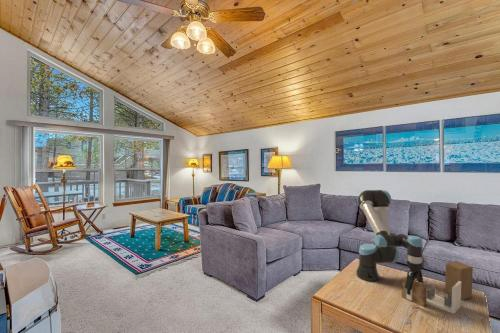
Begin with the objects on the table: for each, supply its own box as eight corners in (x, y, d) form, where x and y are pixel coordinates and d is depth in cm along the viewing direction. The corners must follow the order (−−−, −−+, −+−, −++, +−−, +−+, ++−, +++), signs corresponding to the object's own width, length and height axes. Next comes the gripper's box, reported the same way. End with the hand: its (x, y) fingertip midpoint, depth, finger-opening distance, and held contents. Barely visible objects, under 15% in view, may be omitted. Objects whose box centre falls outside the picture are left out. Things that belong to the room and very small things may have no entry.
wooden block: (461, 300, 150) (462, 269, 149) (444, 291, 159) (445, 262, 158) (472, 298, 152) (473, 267, 151) (455, 289, 162) (456, 260, 161)
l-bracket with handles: (421, 300, 150) (422, 276, 149) (428, 293, 157) (429, 271, 156) (454, 314, 137) (454, 288, 136) (460, 306, 144) (461, 281, 143)
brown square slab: (401, 297, 153) (402, 279, 153) (404, 295, 156) (404, 277, 155) (423, 307, 144) (424, 287, 143) (426, 304, 146) (426, 285, 145)
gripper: (412, 269, 138) (412, 305, 139) (429, 258, 153) (428, 291, 153) (398, 264, 144) (398, 299, 145) (416, 254, 159) (415, 286, 160)
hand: (413, 295), depth 149 cm, fingers open, 13 cm apart
